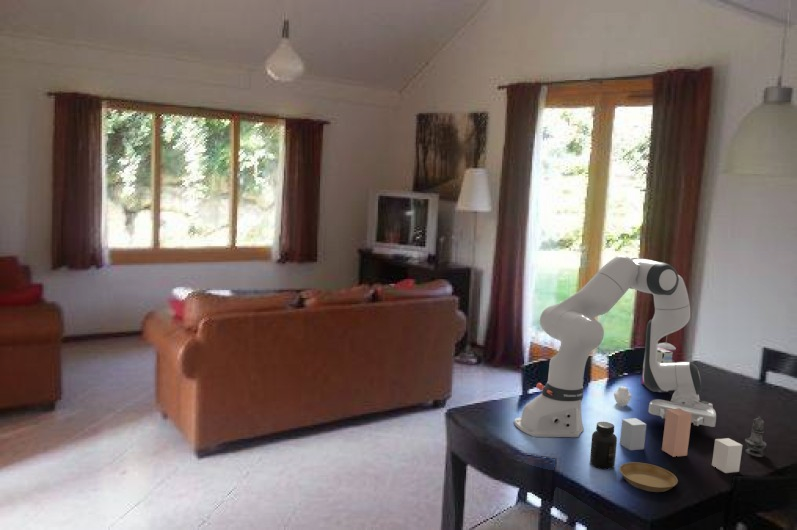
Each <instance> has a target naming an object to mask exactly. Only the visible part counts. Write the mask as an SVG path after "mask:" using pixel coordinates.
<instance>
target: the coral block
mask: <svg viewBox="0 0 797 530" xmlns="http://www.w3.org/2000/svg"><path fill="white" fill-rule="evenodd" d="M691 419H692V414H690V413H688V412H686V411H684V410H682V409H680V408H678V409H667V411H666V419H664V430H663V437H662V443H661V444H662V447H661V450H662V452H665V453H667V454H668V455H670V456H672V457H673V458H674V457H676V456H677V457H685V456H688V450H689V449H688V448H689V442H690V435H691V434H690V433H691V427H692V426H691V424H692V423H691Z"/></svg>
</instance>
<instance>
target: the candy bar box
mask: <svg viewBox="0 0 797 530" xmlns="http://www.w3.org/2000/svg"><path fill="white" fill-rule="evenodd" d="M643 355H644V356H643V363H642V374H641V379H640V380H641V381H640V383H641V385H643V386H645V385H644V382H643V370H644V366H645V353H644V354H643ZM672 357H674V351H672V350H666V349H663V348H660V347H657V361H658V362H660V363H672V360H673V359H672ZM645 387H646V386H645ZM669 391H670V390H664V391H656V392H657V393H669Z"/></svg>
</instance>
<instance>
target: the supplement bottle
mask: <svg viewBox="0 0 797 530" xmlns="http://www.w3.org/2000/svg"><path fill="white" fill-rule="evenodd" d="M595 427H596V428H595V431H594V432H593V433H592V435H591V446H590V456H589V457H590V458H589V462H590V464H591V465H592V466H593V467H595V468H597V469H599V470H600V469H601V470H611V469H613V468H614V467H615V466H616V465H615V464H616V456H617V455H616V454H617V443H618V438H617V436H616V435H617V434H615V425H614V424H613V423H610V422H608V421H599V422H597V423H596V426H595Z"/></svg>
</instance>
